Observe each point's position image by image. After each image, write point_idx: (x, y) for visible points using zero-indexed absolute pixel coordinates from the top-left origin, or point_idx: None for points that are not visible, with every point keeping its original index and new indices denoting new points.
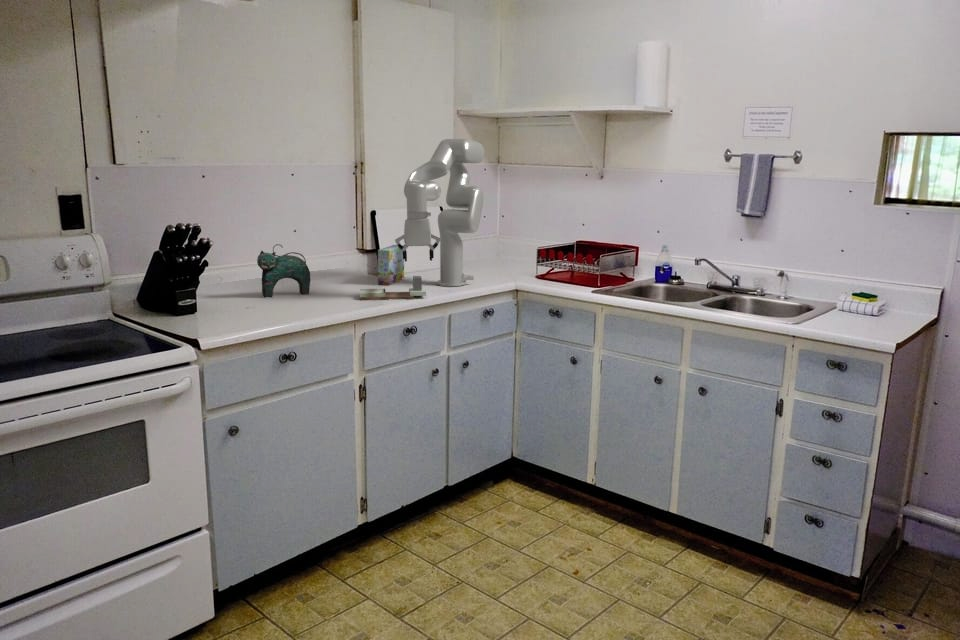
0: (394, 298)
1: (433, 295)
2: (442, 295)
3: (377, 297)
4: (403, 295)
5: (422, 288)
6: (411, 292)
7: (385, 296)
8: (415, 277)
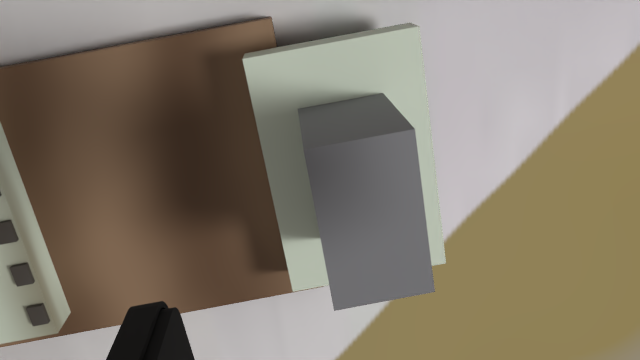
0: None
1: (495, 67)
2: (583, 59)
3: (4, 345)
4: (221, 238)
5: (401, 85)
6: (304, 285)
7: (67, 315)
8: (352, 266)
